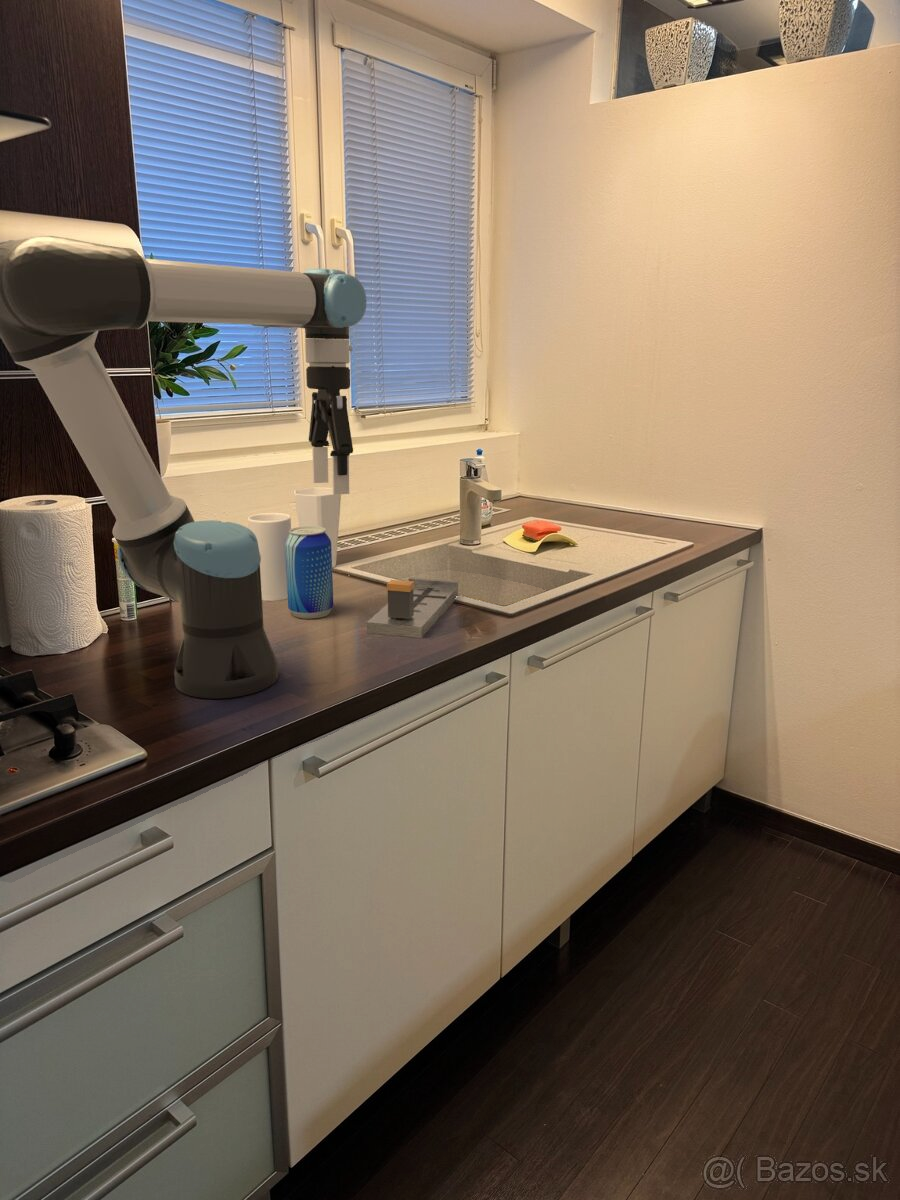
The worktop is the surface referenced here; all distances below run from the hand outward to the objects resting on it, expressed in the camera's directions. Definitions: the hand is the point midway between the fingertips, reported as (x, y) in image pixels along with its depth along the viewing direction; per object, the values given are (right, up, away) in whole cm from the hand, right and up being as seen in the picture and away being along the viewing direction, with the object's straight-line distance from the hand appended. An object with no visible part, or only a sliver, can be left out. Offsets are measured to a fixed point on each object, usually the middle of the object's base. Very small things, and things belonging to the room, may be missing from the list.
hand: (330, 488), depth 155 cm
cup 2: (-8, -13, +41) cm, 44 cm away
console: (+15, -23, +8) cm, 28 cm away
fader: (+13, -23, -1) cm, 26 cm away
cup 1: (-14, -19, +19) cm, 30 cm away
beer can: (-5, -23, +8) cm, 25 cm away
